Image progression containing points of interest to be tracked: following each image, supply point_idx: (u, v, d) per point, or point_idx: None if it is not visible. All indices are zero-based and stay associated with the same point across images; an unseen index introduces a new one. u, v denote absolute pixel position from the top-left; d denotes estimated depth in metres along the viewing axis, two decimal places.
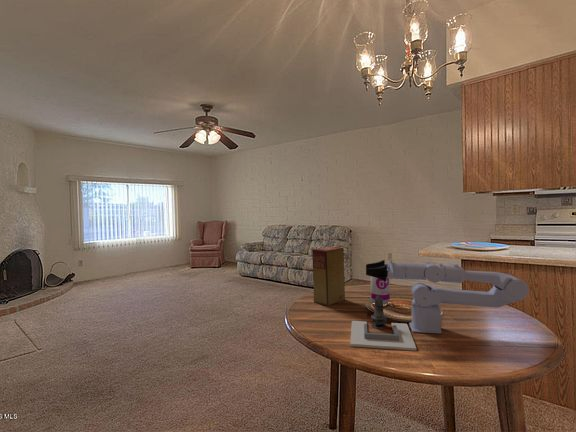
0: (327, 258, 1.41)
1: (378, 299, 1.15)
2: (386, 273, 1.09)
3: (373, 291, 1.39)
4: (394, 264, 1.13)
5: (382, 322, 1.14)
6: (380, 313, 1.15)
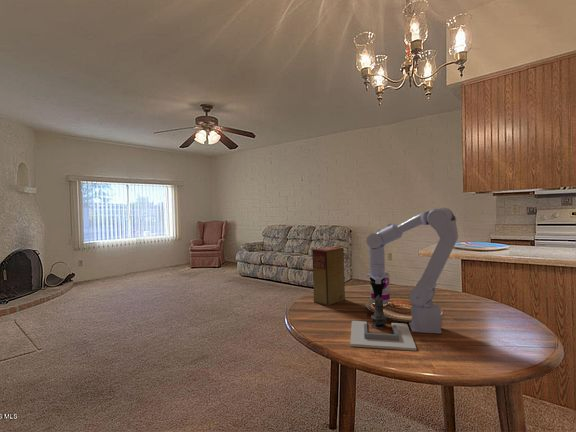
0: (327, 258, 1.41)
1: (378, 299, 1.15)
2: None
3: (373, 291, 1.39)
4: (370, 272, 1.23)
5: (382, 322, 1.14)
6: (380, 313, 1.15)
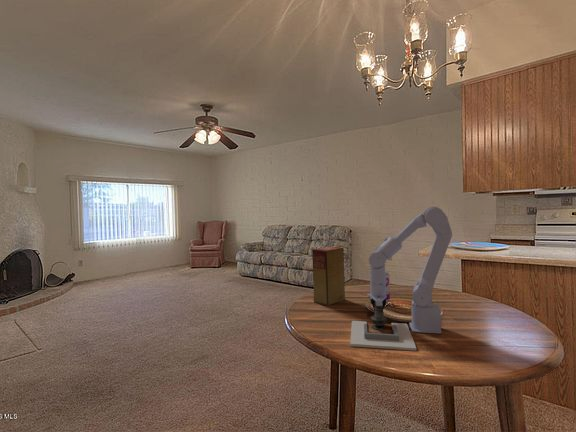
0: (327, 258, 1.41)
1: None
2: None
3: None
4: (371, 293, 1.18)
5: (382, 323, 1.12)
6: (380, 314, 1.13)
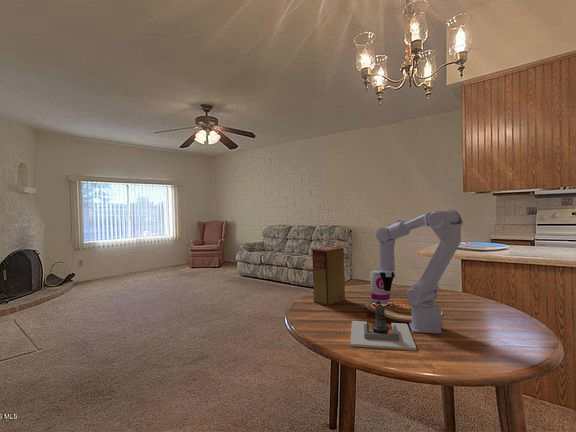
0: (327, 258, 1.41)
1: (379, 308, 1.05)
2: None
3: (373, 291, 1.39)
4: (380, 266, 1.25)
5: (384, 333, 1.04)
6: (381, 322, 1.05)
